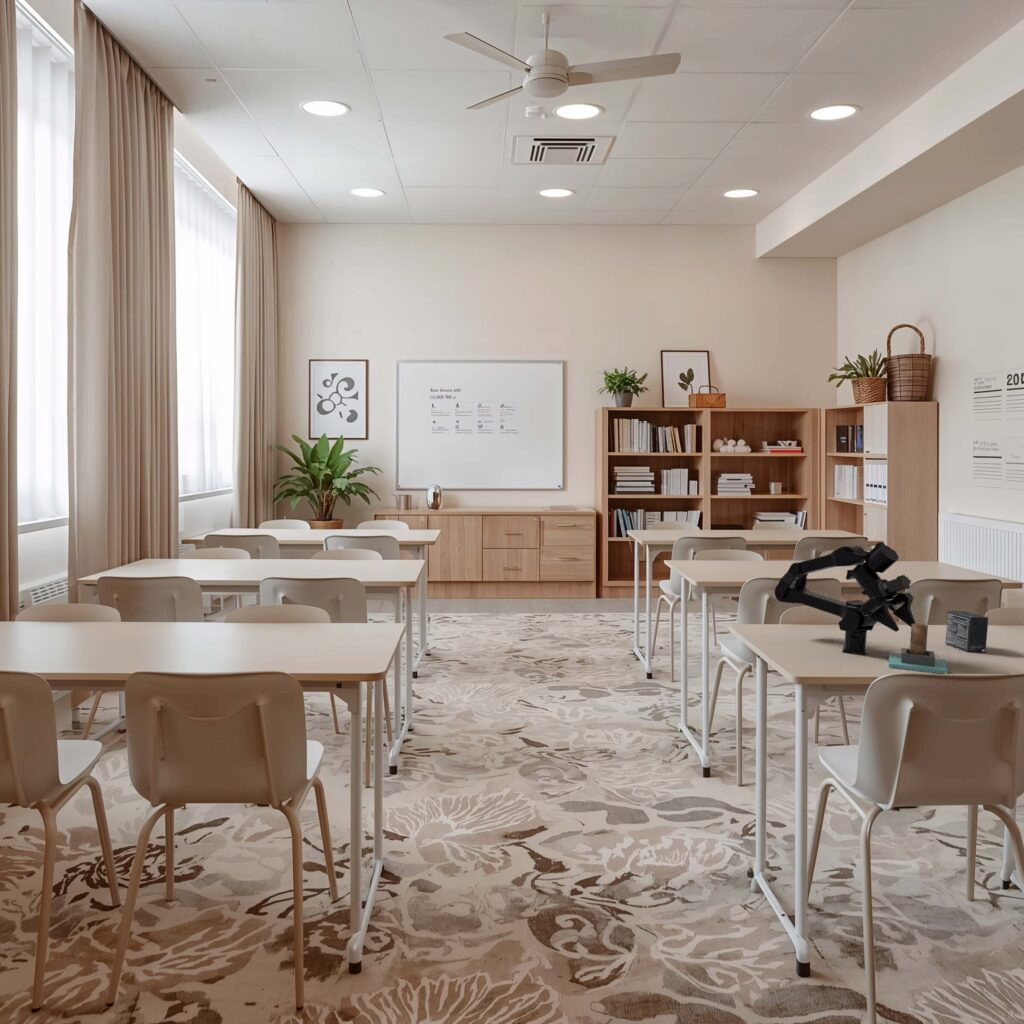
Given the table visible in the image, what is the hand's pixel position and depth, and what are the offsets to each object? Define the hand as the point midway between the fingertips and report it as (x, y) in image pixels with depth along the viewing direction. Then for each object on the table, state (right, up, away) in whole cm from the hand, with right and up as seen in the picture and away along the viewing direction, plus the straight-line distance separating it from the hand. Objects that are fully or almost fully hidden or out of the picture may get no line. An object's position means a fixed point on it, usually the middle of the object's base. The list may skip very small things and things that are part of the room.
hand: (906, 629), depth 243 cm
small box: (+28, -9, +23) cm, 37 cm away
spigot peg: (+2, -8, -2) cm, 9 cm away
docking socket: (+2, -9, -2) cm, 10 cm away
